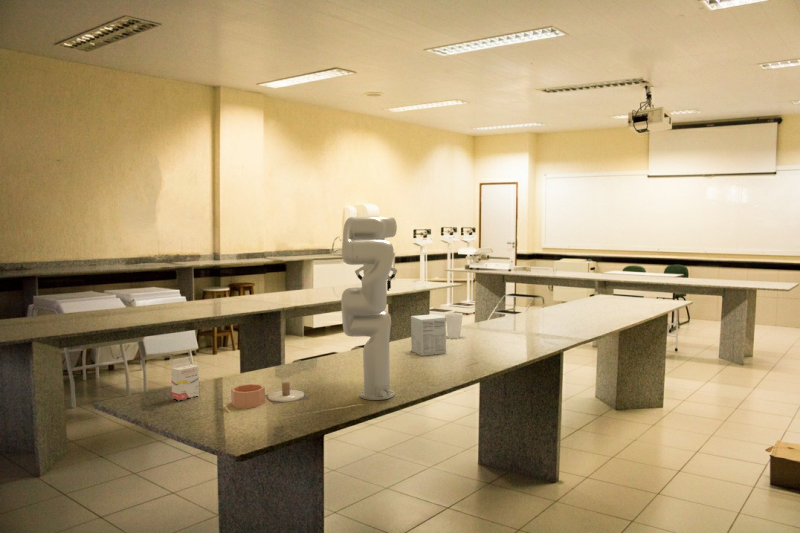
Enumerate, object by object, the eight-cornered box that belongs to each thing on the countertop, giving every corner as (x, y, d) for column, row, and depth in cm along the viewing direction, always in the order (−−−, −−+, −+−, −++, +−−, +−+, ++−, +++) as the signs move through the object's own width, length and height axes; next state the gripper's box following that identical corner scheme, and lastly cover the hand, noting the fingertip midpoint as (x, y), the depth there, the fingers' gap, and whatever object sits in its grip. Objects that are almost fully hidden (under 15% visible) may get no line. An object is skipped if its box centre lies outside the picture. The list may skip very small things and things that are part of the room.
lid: (309, 398, 223) (308, 384, 223) (273, 404, 217) (273, 389, 217) (297, 390, 235) (297, 376, 235) (263, 395, 229) (263, 381, 229)
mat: (309, 400, 223) (309, 398, 223) (273, 405, 218) (273, 404, 217) (297, 391, 235) (297, 390, 235) (263, 396, 229) (263, 395, 229)
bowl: (267, 406, 217) (267, 389, 216) (236, 411, 212) (235, 394, 211) (259, 399, 226) (259, 382, 226) (229, 403, 221) (229, 386, 221)
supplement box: (446, 353, 298) (446, 317, 297) (421, 356, 293) (421, 319, 292) (435, 348, 310) (434, 313, 309) (410, 351, 306) (410, 315, 304)
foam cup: (443, 338, 336) (443, 314, 335) (447, 335, 345) (447, 312, 344) (461, 339, 333) (460, 315, 332) (464, 336, 342) (464, 312, 341)
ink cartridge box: (179, 402, 225) (177, 361, 223) (171, 399, 228) (169, 360, 227) (200, 396, 231) (198, 357, 230) (192, 394, 234) (190, 355, 233)
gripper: (353, 249, 250) (354, 292, 251) (396, 248, 250) (397, 291, 251) (355, 249, 257) (356, 290, 259) (397, 248, 257) (397, 289, 258)
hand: (376, 290), depth 255 cm, fingers open, 9 cm apart
